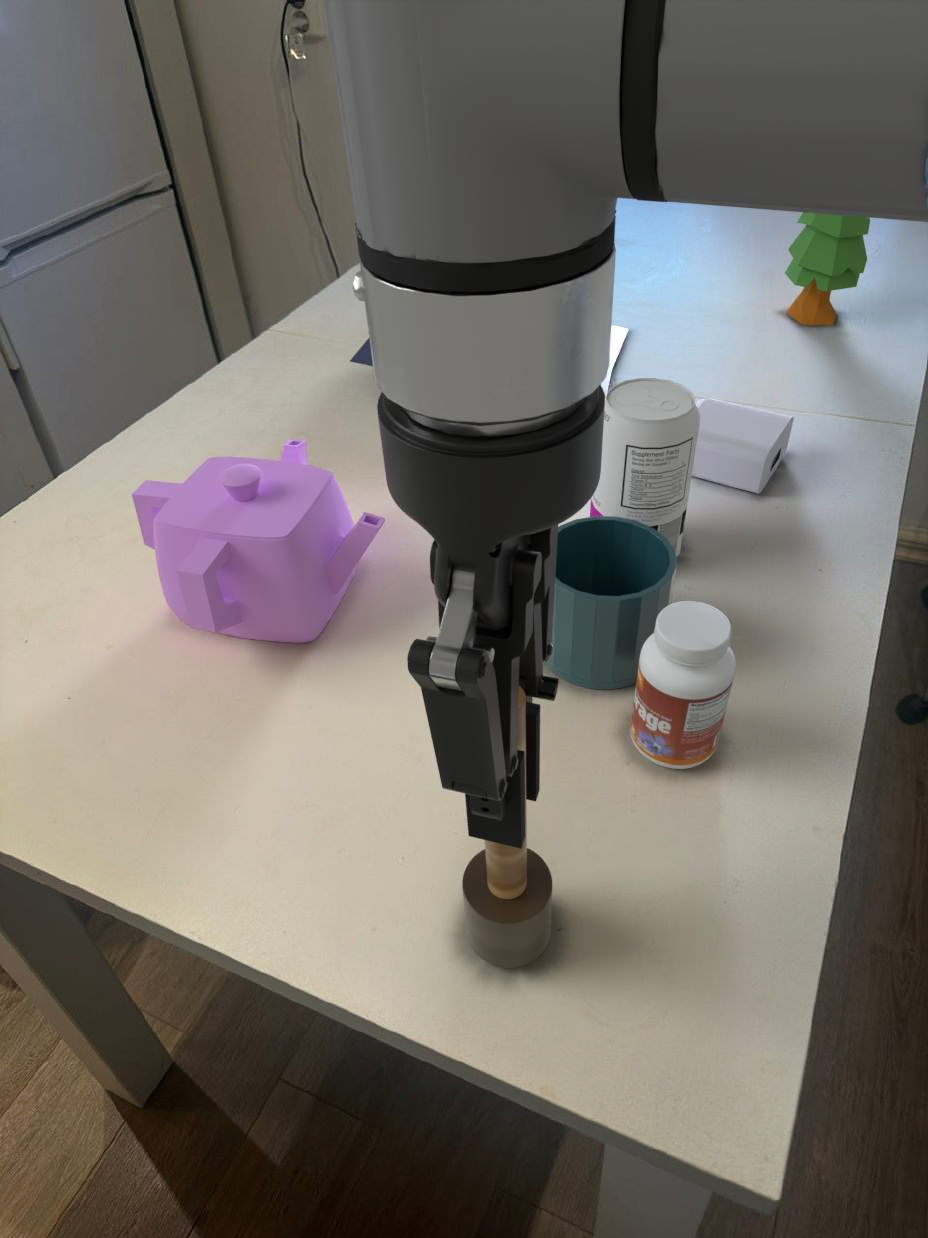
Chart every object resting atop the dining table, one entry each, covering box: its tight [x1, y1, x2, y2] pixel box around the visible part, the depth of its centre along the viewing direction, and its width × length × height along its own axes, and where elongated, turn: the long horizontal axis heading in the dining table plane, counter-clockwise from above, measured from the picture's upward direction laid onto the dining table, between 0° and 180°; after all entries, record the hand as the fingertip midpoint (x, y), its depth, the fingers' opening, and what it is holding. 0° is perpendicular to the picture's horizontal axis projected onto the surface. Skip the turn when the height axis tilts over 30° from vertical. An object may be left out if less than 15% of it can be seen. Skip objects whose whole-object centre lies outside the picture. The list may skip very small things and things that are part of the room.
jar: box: [543, 516, 678, 690], centre depth 67 cm, size 10×10×9 cm
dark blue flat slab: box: [349, 325, 629, 397], centre depth 107 cm, size 24×30×4 cm
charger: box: [692, 397, 795, 495], centre depth 88 cm, size 5×9×15 cm
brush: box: [461, 686, 553, 969], centre depth 45 cm, size 5×5×20 cm
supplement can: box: [589, 377, 701, 558], centre depth 74 cm, size 8×8×15 cm
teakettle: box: [131, 438, 386, 644], centre depth 73 cm, size 17×17×12 cm
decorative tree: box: [784, 212, 871, 327], centre depth 103 cm, size 10×9×30 cm
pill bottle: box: [629, 600, 737, 770], centre depth 59 cm, size 6×6×11 cm
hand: (504, 812), depth 44 cm, fingers closed on brush, 2 cm apart
